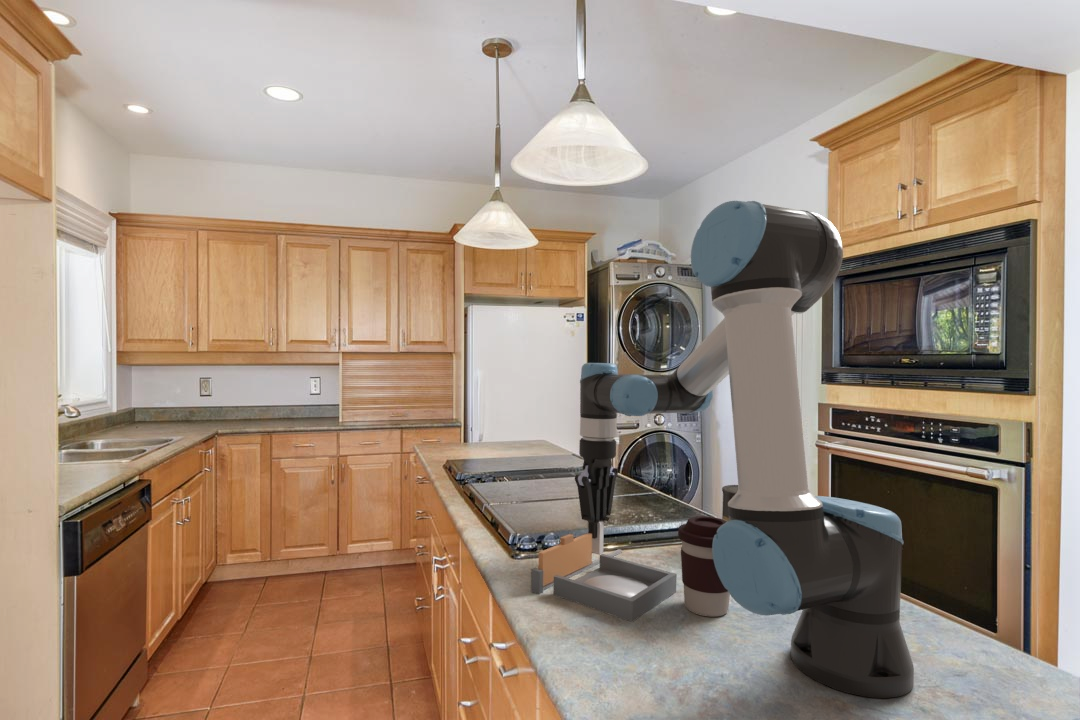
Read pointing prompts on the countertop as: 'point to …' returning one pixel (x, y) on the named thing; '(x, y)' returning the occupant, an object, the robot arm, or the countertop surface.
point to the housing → (612, 586)
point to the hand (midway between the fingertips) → (595, 552)
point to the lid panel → (565, 556)
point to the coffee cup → (702, 567)
